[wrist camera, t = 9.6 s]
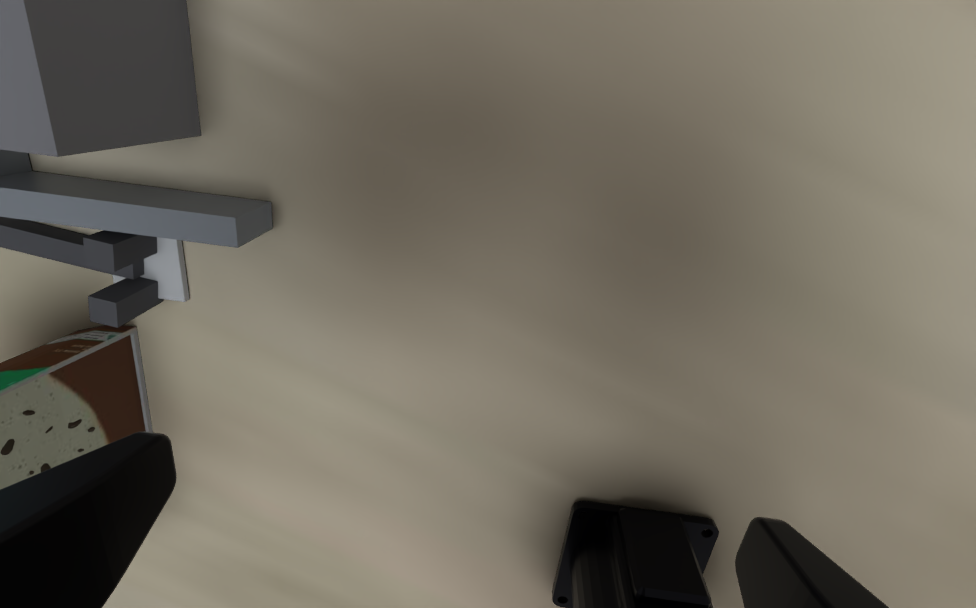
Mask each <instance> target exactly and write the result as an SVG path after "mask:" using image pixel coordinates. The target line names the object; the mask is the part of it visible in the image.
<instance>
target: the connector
mask: <svg viewBox="0 0 976 608" xmlns="http://www.w3.org/2000/svg"><path fill="white" fill-rule="evenodd" d="M196 136H201V130H200V121H199V112H198V103H197V94H196V85H195V76H194V66H193V57H192V48H191V39H190V30H189V21H188V12H187V3H186V0H0V149H1V150H9V151H17V152H25V153H32V154H40V155H48V156H56V157H59V156H66V155H73V154H80V153H87V152H93V151H100V150H107V149H114V148H121V147H128V146H134V145H141V144H148V143H155V142H162V141H169V140H175V139H182V138H189V137H196Z"/></svg>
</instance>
